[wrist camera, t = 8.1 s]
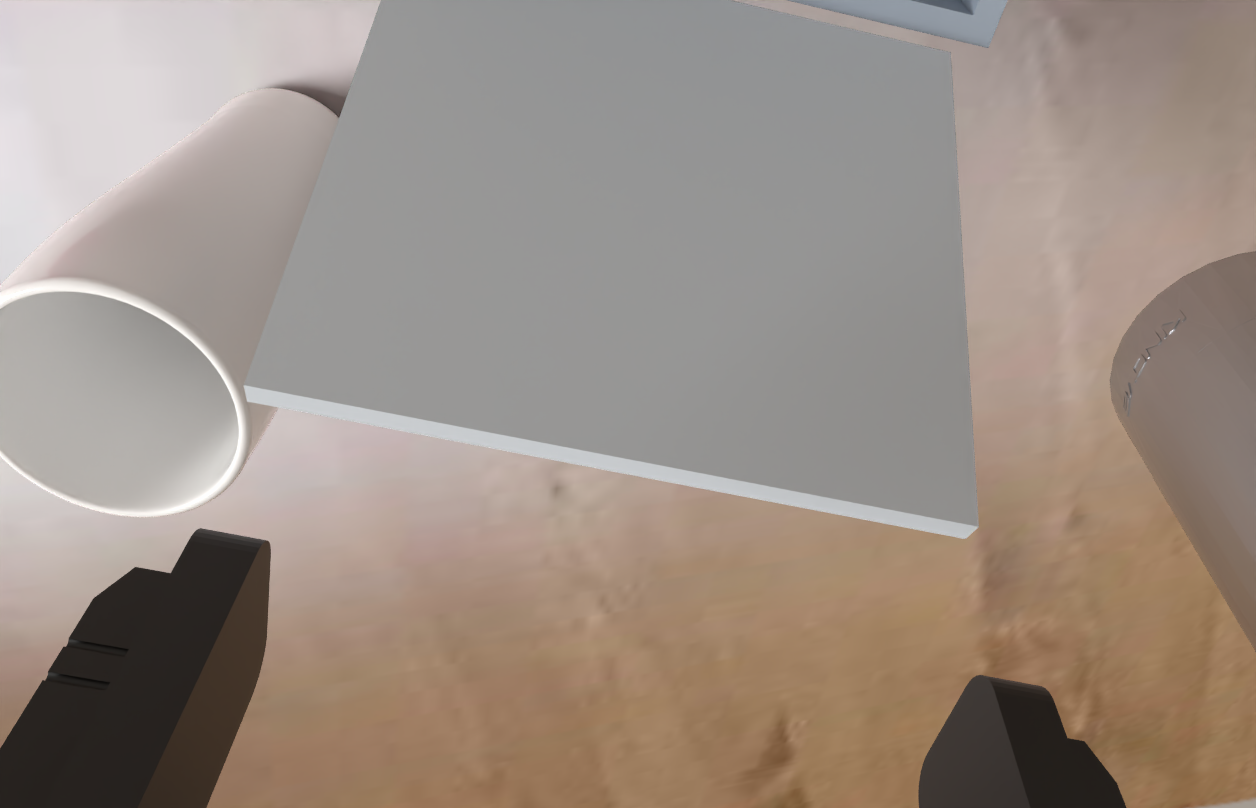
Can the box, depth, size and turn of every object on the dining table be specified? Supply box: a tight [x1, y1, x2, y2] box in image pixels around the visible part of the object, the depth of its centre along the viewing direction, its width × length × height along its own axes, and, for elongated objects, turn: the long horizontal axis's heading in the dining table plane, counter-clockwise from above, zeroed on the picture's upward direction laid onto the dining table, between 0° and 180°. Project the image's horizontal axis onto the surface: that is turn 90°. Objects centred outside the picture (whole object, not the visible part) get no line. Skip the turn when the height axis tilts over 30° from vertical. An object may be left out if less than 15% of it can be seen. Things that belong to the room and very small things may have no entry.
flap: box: [244, 0, 979, 539], centre depth 21 cm, size 12×12×1 cm
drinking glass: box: [0, 88, 339, 517], centre depth 31 cm, size 7×7×15 cm
